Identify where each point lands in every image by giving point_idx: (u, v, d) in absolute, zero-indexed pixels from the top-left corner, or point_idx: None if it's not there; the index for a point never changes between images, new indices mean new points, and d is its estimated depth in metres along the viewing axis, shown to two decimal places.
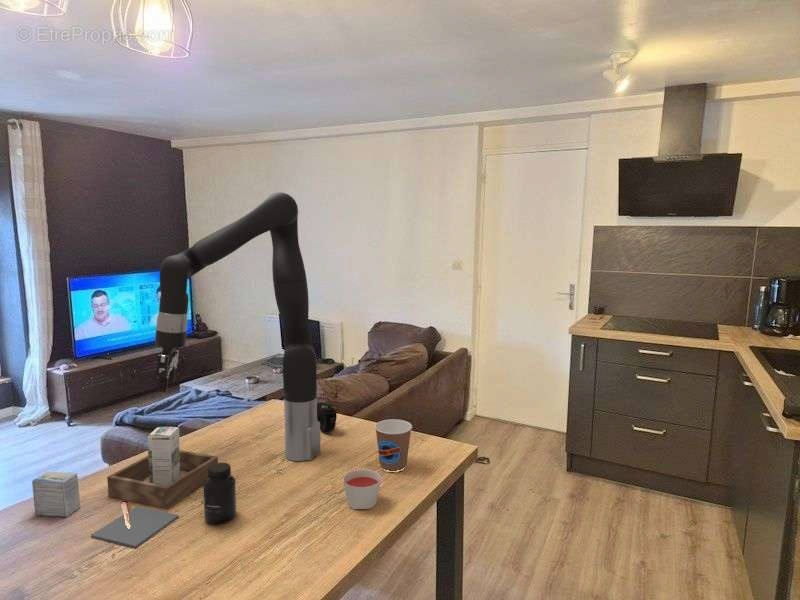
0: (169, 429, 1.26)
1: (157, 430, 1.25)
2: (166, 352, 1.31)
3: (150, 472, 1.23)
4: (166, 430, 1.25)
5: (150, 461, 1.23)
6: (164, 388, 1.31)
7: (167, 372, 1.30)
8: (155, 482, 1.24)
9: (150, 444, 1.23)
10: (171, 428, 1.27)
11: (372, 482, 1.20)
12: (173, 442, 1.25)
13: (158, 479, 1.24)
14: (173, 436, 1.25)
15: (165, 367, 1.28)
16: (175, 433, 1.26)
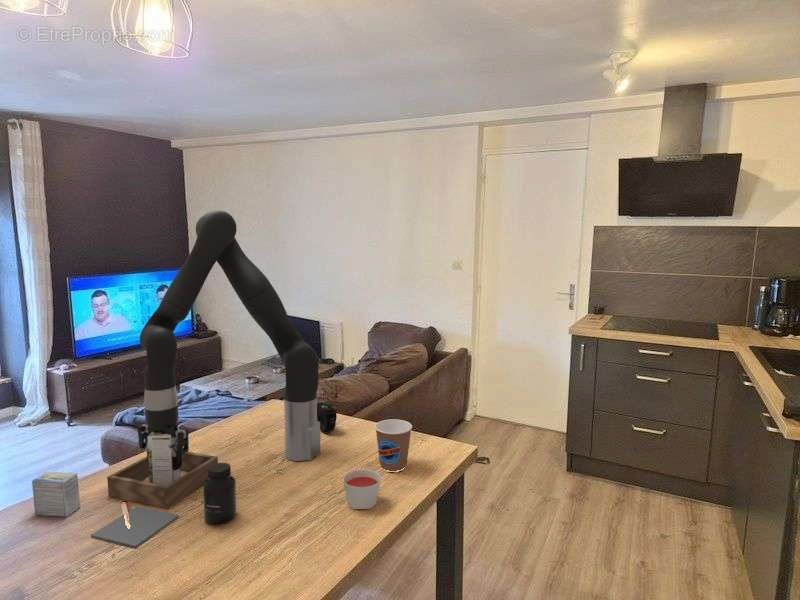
0: None
1: None
2: (174, 428, 1.24)
3: (150, 472, 1.23)
4: None
5: (150, 461, 1.23)
6: None
7: None
8: (155, 482, 1.24)
9: (150, 444, 1.23)
10: None
11: (372, 482, 1.20)
12: (173, 442, 1.25)
13: (158, 479, 1.24)
14: None
15: (187, 441, 1.24)
16: None
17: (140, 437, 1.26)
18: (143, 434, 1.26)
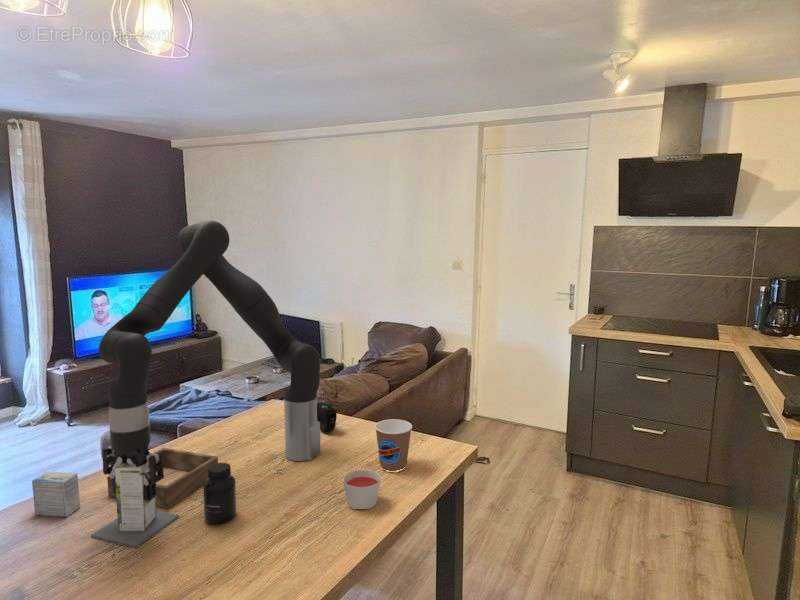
0: None
1: None
2: (145, 452, 1.05)
3: (118, 510, 1.05)
4: None
5: (118, 497, 1.05)
6: None
7: None
8: (124, 522, 1.05)
9: (118, 478, 1.04)
10: None
11: (372, 482, 1.20)
12: None
13: (127, 519, 1.05)
14: None
15: (161, 467, 1.05)
16: None
17: (105, 461, 1.08)
18: (108, 458, 1.08)
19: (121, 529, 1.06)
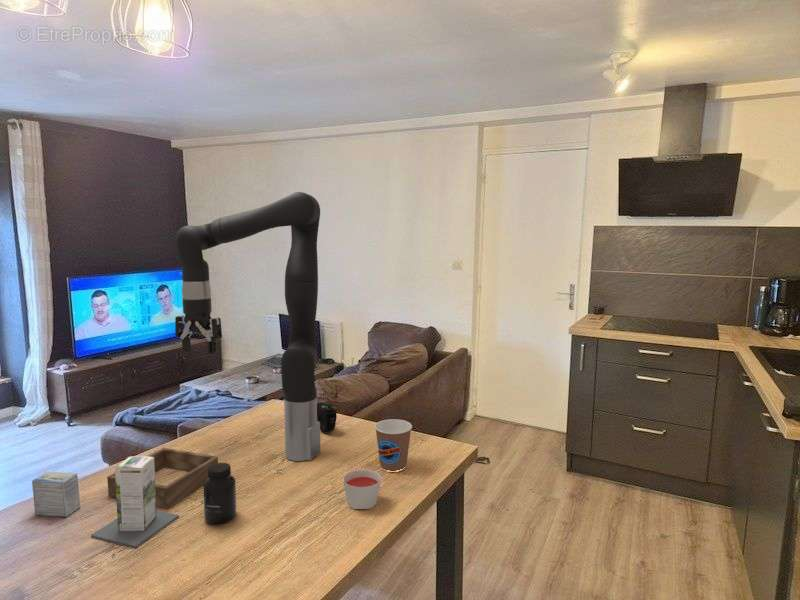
0: (142, 459, 1.08)
1: (128, 460, 1.07)
2: (208, 317, 1.40)
3: (118, 510, 1.05)
4: (138, 461, 1.07)
5: (118, 497, 1.05)
6: None
7: None
8: (124, 522, 1.05)
9: (118, 478, 1.04)
10: (145, 458, 1.08)
11: (372, 482, 1.20)
12: (145, 475, 1.06)
13: (127, 519, 1.05)
14: (146, 469, 1.06)
15: (220, 328, 1.40)
16: (148, 464, 1.07)
17: (177, 326, 1.42)
18: (179, 324, 1.43)
19: (121, 529, 1.06)
